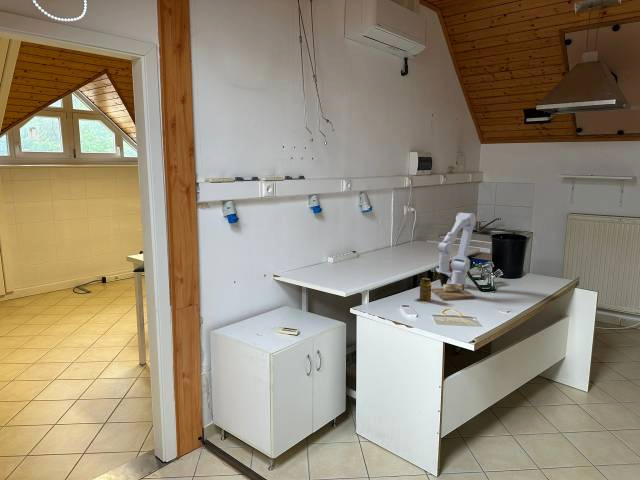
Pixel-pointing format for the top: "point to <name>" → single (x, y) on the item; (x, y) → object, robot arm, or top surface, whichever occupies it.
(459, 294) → the stool seat
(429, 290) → the condiment
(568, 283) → the top surface
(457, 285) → the folding leg
